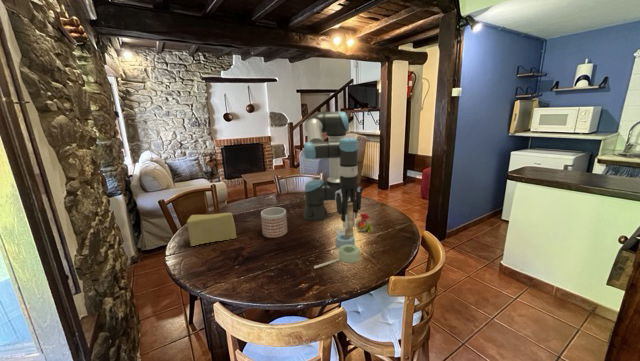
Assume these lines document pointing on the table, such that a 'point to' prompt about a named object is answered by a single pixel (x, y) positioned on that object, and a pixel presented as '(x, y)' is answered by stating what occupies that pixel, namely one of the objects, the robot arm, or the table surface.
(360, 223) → the red green lumpy piece
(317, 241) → the table surface
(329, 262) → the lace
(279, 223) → the planter
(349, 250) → the bead
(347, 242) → the blue bead
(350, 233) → the wooden dowel
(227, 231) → the cheese
